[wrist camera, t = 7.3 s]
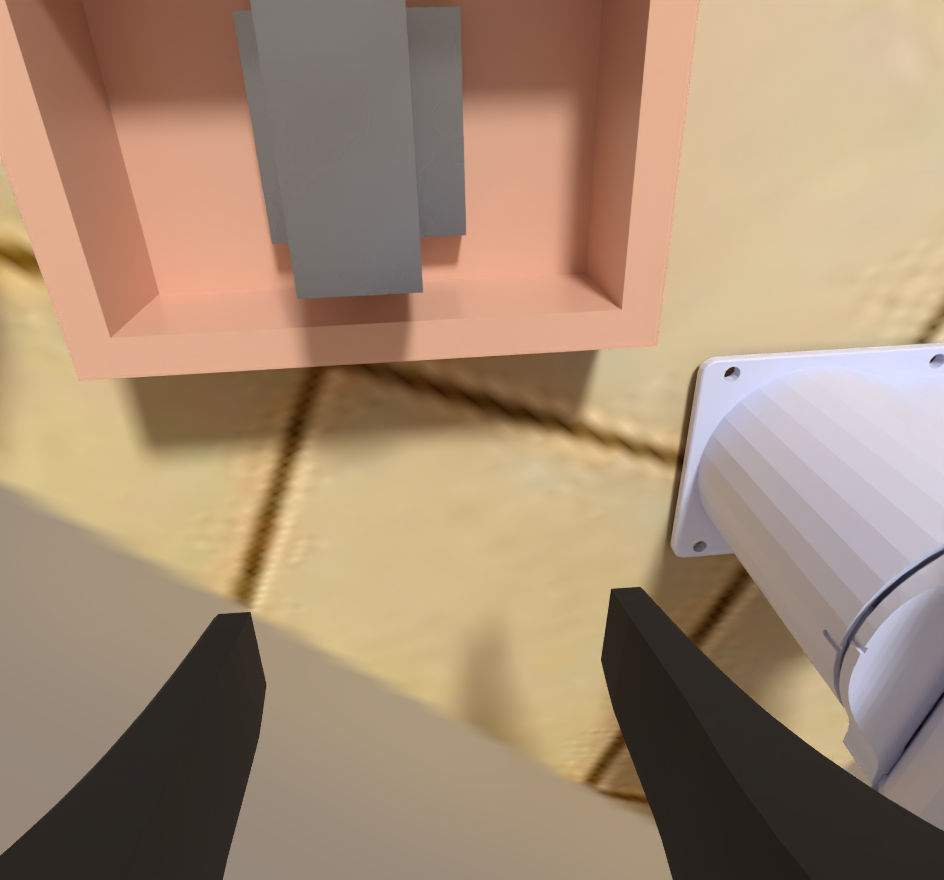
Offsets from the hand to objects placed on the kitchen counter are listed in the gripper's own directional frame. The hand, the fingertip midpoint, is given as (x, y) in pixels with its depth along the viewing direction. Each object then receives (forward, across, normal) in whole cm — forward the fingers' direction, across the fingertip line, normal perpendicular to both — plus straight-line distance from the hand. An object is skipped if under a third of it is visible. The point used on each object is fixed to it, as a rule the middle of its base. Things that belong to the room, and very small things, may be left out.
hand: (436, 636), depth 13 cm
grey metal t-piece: (+9, +1, -9) cm, 12 cm away
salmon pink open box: (+9, +1, -9) cm, 13 cm away
